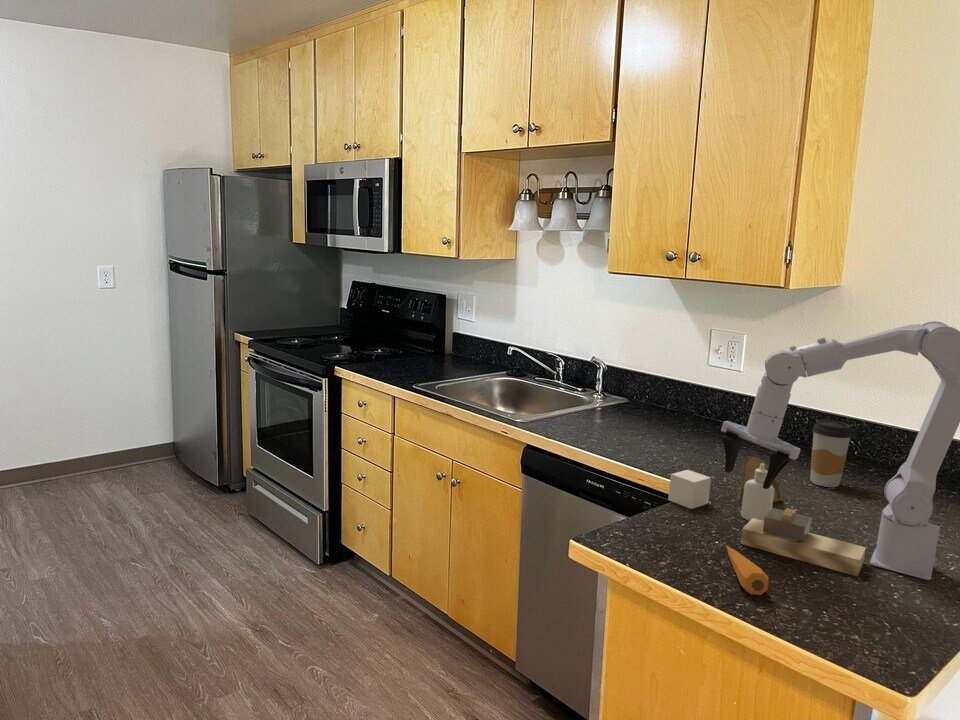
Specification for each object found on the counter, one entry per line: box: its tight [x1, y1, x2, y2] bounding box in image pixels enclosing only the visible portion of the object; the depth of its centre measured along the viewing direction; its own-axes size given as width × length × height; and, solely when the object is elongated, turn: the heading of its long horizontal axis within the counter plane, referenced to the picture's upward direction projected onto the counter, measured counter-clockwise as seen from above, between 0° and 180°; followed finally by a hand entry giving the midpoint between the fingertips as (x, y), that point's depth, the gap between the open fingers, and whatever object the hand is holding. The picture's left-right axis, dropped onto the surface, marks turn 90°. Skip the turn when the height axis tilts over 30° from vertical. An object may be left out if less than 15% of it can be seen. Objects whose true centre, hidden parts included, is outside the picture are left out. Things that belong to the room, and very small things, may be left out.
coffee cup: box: [809, 419, 853, 488], centre depth 176 cm, size 8×8×15 cm
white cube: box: [667, 469, 712, 510], centre depth 159 cm, size 6×6×6 cm
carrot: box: [725, 545, 769, 596], centre depth 128 cm, size 20×4×4 cm, turn 176°
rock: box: [738, 456, 783, 506], centre depth 162 cm, size 11×9×10 cm
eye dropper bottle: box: [740, 464, 774, 522], centre depth 150 cm, size 4×6×12 cm
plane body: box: [740, 518, 867, 577], centre depth 136 cm, size 20×7×3 cm, turn 56°
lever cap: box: [763, 507, 812, 542], centre depth 137 cm, size 7×6×4 cm
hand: (747, 479), depth 141 cm, fingers open, 7 cm apart
